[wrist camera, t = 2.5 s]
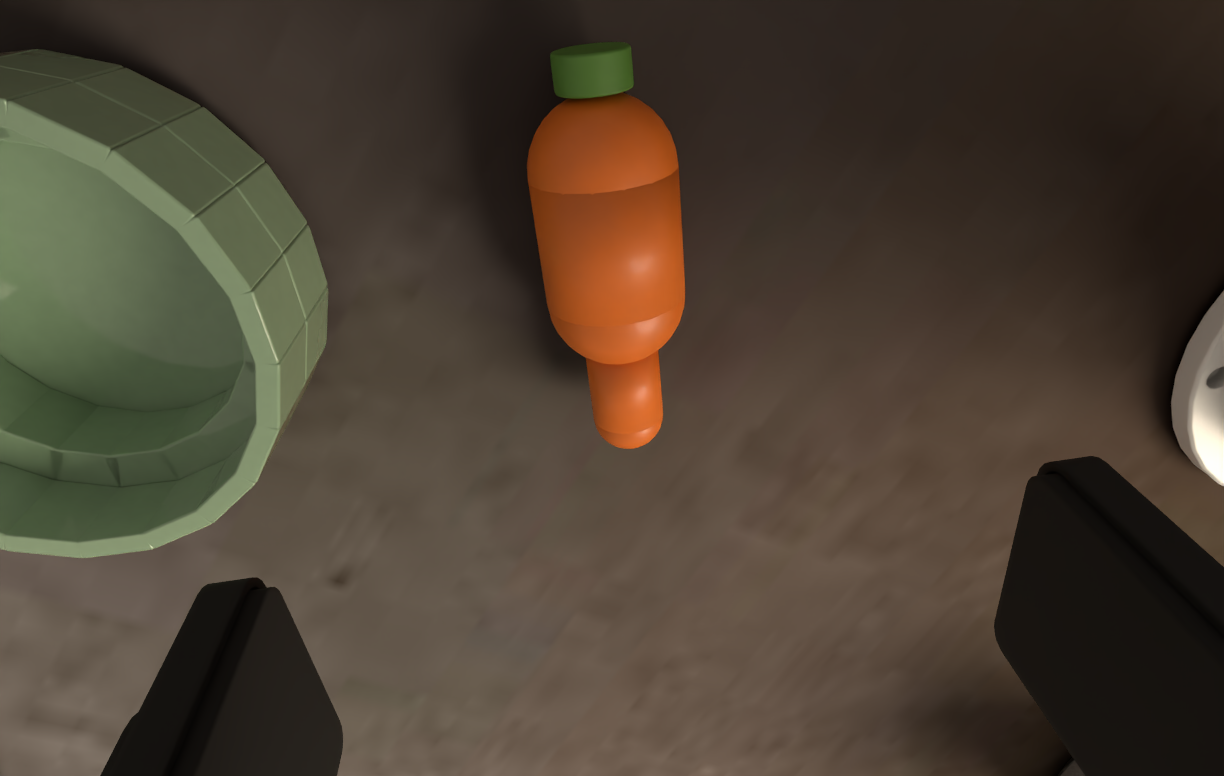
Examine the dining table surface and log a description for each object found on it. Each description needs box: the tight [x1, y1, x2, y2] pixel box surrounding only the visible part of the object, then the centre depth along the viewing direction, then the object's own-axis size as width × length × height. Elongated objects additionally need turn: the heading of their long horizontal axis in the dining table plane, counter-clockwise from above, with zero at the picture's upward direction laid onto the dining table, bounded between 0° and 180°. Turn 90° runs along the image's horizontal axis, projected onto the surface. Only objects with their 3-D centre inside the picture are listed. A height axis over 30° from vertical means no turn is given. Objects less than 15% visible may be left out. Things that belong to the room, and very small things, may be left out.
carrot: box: [527, 42, 685, 449], centre depth 21 cm, size 12×4×4 cm, turn 6°
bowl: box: [0, 49, 328, 558], centre depth 20 cm, size 12×12×6 cm
